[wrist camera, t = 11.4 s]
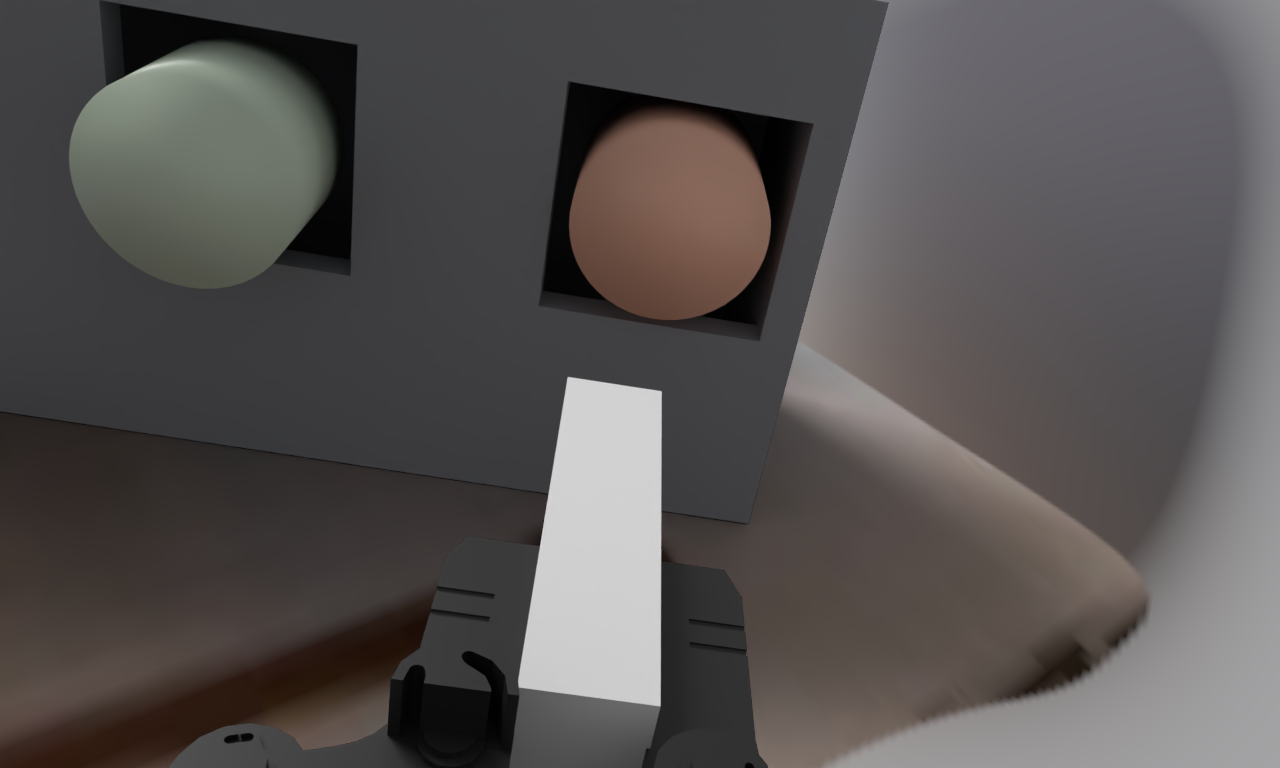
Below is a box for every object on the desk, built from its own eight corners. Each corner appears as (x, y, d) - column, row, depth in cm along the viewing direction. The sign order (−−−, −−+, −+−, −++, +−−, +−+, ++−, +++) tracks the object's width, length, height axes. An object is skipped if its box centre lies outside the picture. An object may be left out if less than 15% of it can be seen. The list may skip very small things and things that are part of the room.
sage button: (295, 304, 25) (296, 93, 22) (80, 269, 25) (57, 53, 22) (342, 241, 28) (347, 53, 26) (153, 210, 28) (141, 18, 26)
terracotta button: (746, 333, 27) (791, 148, 25) (557, 303, 27) (583, 113, 25) (738, 272, 31) (777, 104, 28) (570, 245, 31) (594, 73, 28)
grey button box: (748, 524, 31) (888, 2, 24) (-297, 366, 30) (-489, -247, 22) (733, 377, 39) (835, -50, 32) (-94, 246, 37) (-187, -237, 30)
